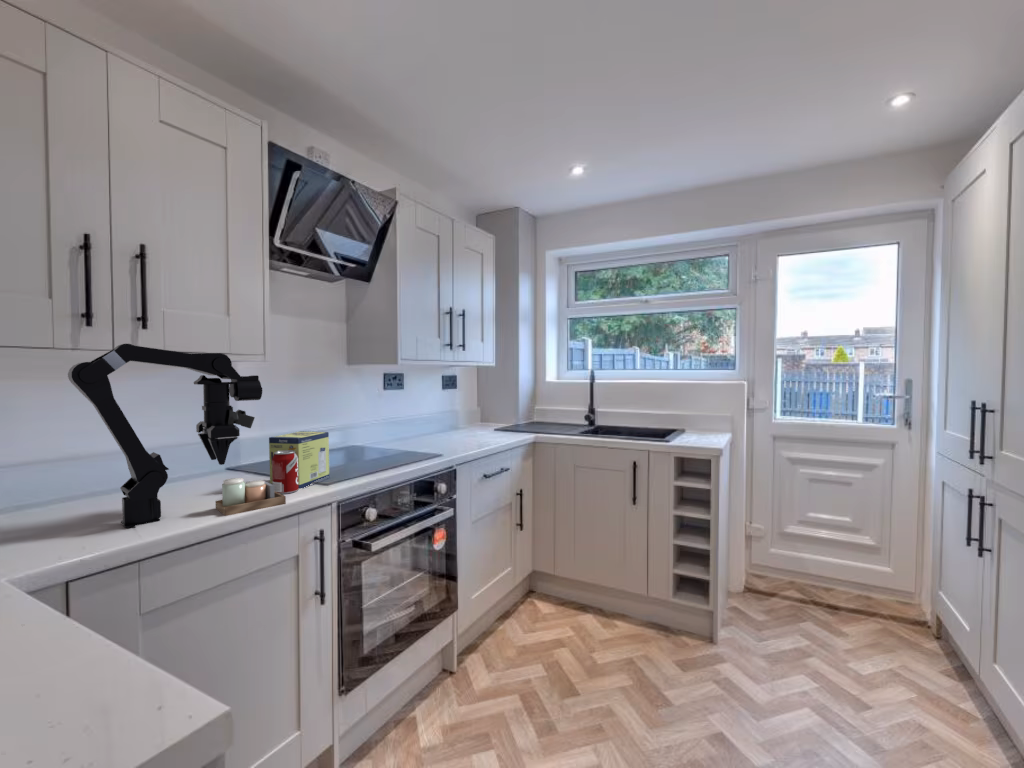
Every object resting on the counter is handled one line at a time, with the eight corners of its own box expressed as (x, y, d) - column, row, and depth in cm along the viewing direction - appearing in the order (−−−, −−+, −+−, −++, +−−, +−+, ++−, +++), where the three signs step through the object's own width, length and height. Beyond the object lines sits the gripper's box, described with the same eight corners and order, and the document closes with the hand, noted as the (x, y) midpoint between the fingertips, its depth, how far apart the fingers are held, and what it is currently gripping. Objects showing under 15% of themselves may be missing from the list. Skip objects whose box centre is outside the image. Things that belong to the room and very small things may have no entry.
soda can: (280, 497, 134) (279, 454, 134) (268, 493, 138) (267, 452, 138) (303, 492, 140) (302, 451, 139) (291, 488, 144) (290, 449, 143)
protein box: (269, 488, 144) (267, 437, 144) (302, 477, 160) (301, 430, 159) (299, 490, 142) (298, 438, 142) (330, 478, 157) (329, 431, 157)
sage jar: (248, 503, 121) (247, 479, 121) (226, 507, 118) (225, 483, 117) (241, 499, 125) (241, 476, 125) (219, 503, 121) (219, 480, 121)
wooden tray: (225, 517, 116) (225, 507, 116) (215, 510, 122) (215, 500, 122) (285, 505, 126) (285, 496, 126) (273, 499, 132) (273, 490, 132)
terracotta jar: (248, 509, 121) (247, 485, 121) (241, 505, 125) (241, 482, 125) (269, 505, 125) (268, 482, 125) (262, 501, 128) (262, 479, 128)
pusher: (270, 505, 124) (270, 485, 124) (261, 500, 129) (260, 481, 129) (274, 504, 125) (274, 485, 125) (265, 499, 130) (264, 481, 130)
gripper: (261, 402, 123) (262, 463, 123) (241, 399, 136) (242, 454, 137) (210, 404, 115) (211, 469, 115) (195, 400, 129) (196, 458, 129)
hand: (217, 462), depth 124 cm, fingers open, 9 cm apart
